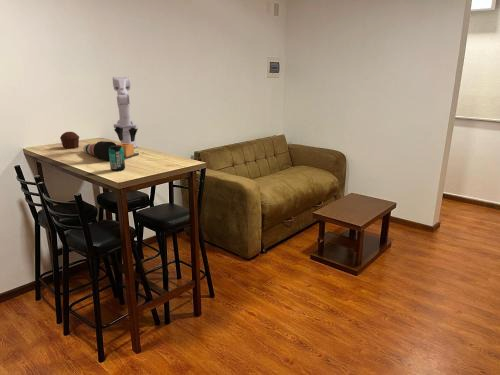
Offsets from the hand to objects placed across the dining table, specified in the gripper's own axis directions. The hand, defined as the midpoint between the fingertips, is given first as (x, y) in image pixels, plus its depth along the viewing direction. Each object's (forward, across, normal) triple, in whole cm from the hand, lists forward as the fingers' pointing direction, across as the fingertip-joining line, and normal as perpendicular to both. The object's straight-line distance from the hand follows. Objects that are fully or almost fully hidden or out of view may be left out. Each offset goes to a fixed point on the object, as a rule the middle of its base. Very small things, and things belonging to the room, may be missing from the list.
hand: (127, 141), depth 224 cm
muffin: (+10, -51, +12) cm, 53 cm away
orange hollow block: (+8, -2, 0) cm, 9 cm away
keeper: (+9, -3, 0) cm, 10 cm away
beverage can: (+9, +12, -27) cm, 31 cm away
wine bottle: (+10, -18, -4) cm, 21 cm away
